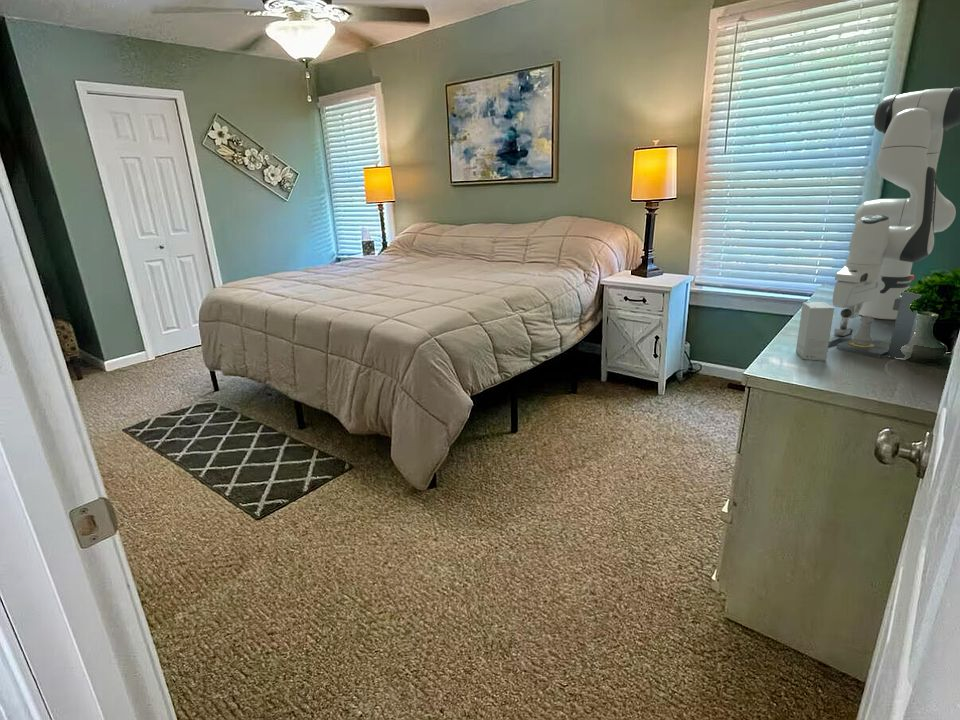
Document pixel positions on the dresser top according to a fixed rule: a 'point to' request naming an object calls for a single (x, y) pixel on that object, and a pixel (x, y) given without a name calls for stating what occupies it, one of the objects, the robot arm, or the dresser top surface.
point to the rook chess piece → (864, 331)
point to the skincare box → (814, 330)
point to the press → (900, 335)
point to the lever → (844, 323)
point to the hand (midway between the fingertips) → (852, 317)
